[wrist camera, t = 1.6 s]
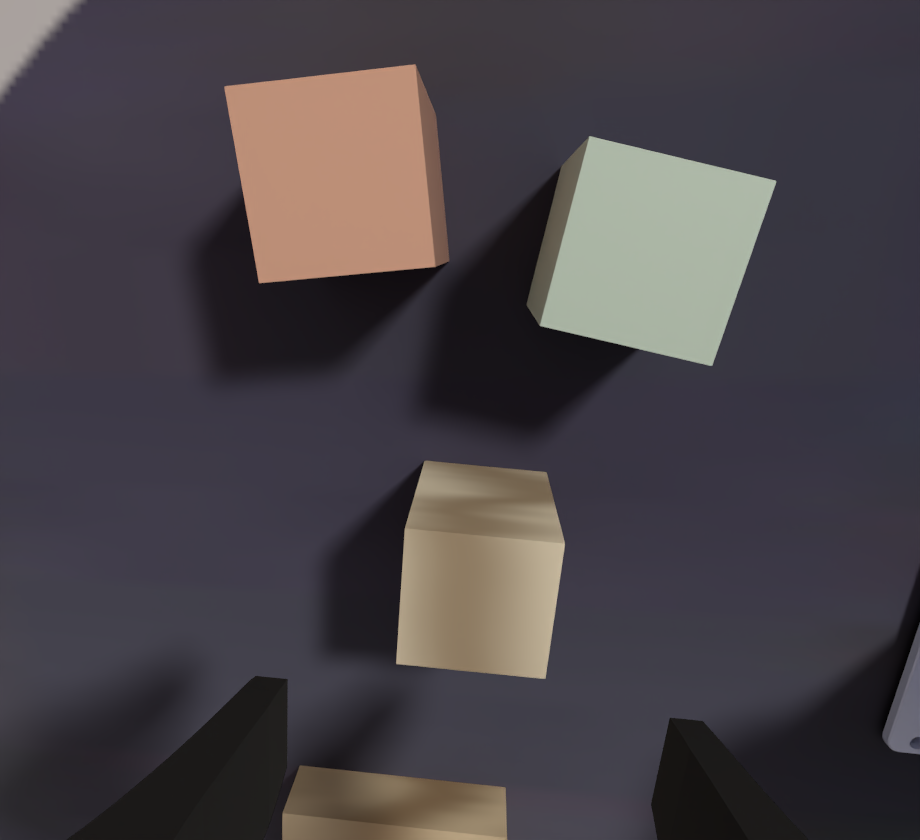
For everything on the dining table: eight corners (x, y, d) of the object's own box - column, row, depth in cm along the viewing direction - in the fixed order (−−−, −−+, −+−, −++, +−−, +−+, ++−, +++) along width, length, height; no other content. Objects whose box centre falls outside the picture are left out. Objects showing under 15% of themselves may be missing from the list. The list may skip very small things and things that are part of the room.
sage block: (696, 198, 17) (776, 181, 13) (654, 334, 19) (712, 366, 14) (561, 166, 17) (589, 135, 13) (526, 304, 19) (540, 326, 14)
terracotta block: (435, 114, 17) (415, 64, 12) (449, 261, 18) (435, 266, 13) (297, 130, 17) (224, 86, 13) (318, 273, 19) (259, 283, 14)
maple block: (546, 471, 20) (565, 543, 15) (532, 579, 21) (545, 678, 16) (424, 460, 20) (404, 528, 15) (416, 568, 21) (396, 664, 16)
